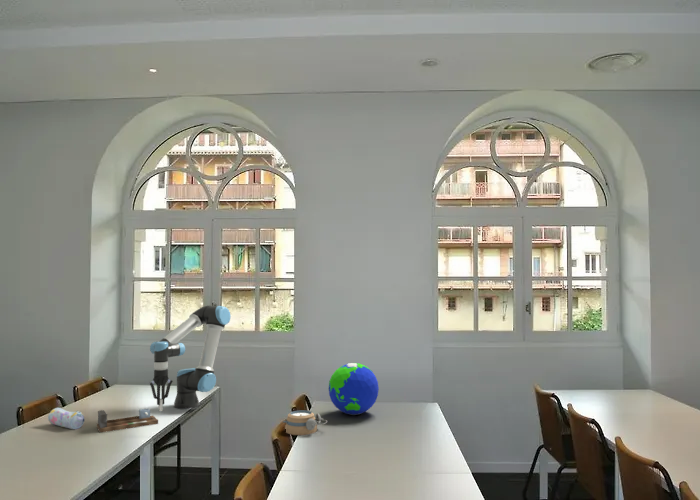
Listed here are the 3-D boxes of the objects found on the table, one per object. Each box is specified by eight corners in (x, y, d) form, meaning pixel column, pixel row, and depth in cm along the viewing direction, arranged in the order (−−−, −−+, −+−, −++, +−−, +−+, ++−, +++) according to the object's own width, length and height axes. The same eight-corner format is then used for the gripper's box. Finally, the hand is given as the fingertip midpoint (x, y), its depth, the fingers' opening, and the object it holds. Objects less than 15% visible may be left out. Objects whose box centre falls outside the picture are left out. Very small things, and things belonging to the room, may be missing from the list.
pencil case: (85, 427, 310) (85, 409, 310) (71, 431, 302) (71, 413, 302) (61, 422, 320) (61, 405, 320) (46, 426, 312) (46, 409, 312)
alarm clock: (292, 408, 311) (331, 411, 304) (292, 424, 311) (331, 428, 304) (279, 416, 295) (320, 419, 288) (279, 433, 295) (320, 437, 288)
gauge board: (153, 418, 325) (153, 403, 325) (158, 423, 315) (158, 407, 315) (96, 427, 309) (96, 410, 309) (100, 432, 299) (100, 415, 299)
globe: (386, 410, 339) (386, 360, 340) (367, 423, 312) (366, 369, 313) (342, 405, 352) (341, 357, 353) (319, 417, 325) (319, 365, 325)
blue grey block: (148, 417, 320) (148, 408, 320) (152, 420, 312) (152, 411, 312) (139, 418, 318) (139, 409, 318) (142, 422, 310) (142, 413, 310)
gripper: (170, 367, 329) (170, 407, 328) (147, 369, 322) (147, 410, 321) (174, 368, 323) (173, 410, 322) (150, 371, 316) (150, 413, 315)
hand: (160, 410), depth 322 cm, fingers closed
